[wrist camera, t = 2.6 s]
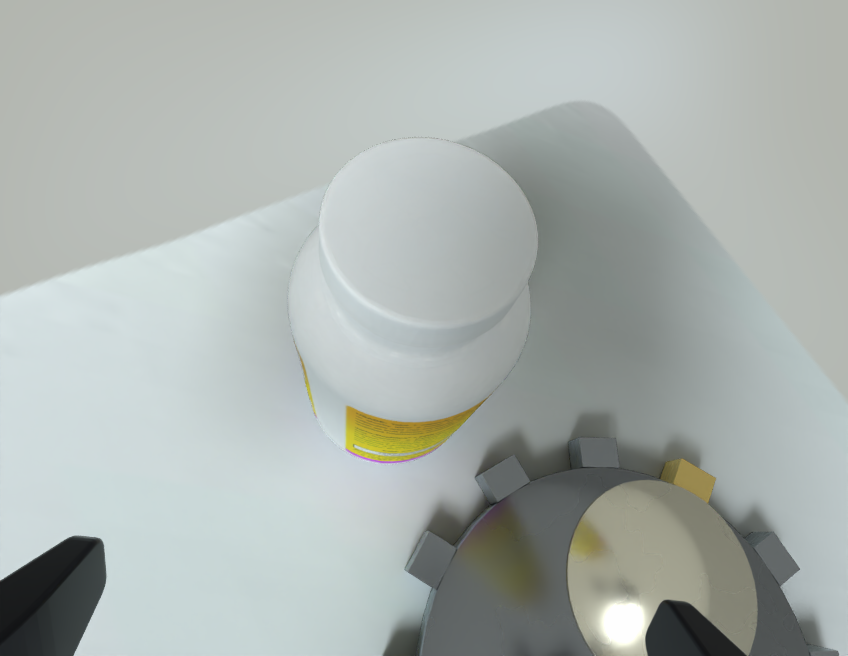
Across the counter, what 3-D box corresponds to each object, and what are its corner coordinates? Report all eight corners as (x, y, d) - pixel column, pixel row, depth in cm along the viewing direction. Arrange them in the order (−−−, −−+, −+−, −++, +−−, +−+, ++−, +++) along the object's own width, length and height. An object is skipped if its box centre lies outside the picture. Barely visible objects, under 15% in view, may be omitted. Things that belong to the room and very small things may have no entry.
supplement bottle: (493, 398, 23) (648, 253, 11) (378, 501, 21) (421, 456, 9) (395, 290, 24) (443, 59, 13) (277, 377, 22) (199, 194, 10)
